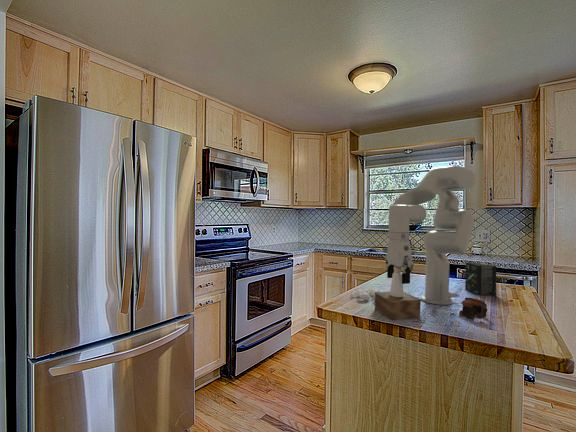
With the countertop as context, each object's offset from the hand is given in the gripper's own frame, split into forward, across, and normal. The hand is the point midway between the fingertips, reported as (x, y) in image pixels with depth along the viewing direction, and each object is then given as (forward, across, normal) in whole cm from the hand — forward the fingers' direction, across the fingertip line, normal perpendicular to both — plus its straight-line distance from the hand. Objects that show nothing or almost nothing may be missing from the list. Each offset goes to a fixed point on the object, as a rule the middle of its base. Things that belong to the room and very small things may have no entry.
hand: (398, 280), depth 119 cm
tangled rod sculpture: (+14, +24, 0) cm, 28 cm away
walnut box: (+13, 0, +1) cm, 13 cm away
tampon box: (+14, +22, -61) cm, 67 cm away
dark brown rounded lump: (+14, -10, -26) cm, 31 cm away
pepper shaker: (+6, 0, 0) cm, 6 cm away
